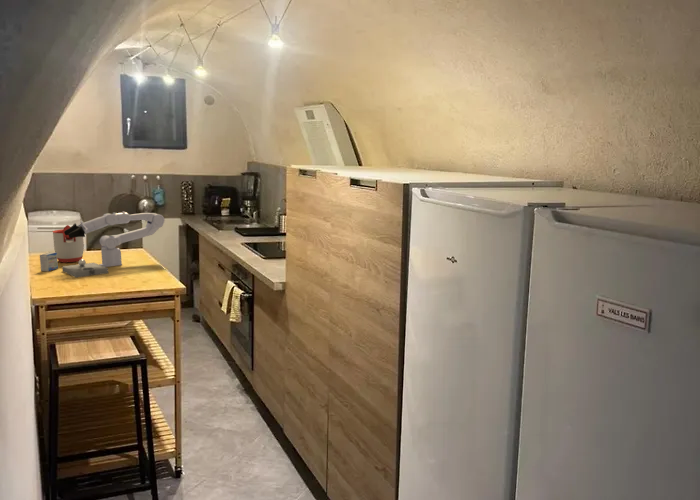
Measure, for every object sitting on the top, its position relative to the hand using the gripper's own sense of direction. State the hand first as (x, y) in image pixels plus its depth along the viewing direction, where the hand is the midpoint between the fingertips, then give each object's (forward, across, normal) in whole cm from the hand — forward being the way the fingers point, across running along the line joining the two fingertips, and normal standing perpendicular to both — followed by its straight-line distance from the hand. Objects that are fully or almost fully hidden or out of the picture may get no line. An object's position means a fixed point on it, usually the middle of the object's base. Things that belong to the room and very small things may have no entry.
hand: (66, 234), depth 334 cm
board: (0, +12, +18) cm, 22 cm away
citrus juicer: (-1, -24, +21) cm, 32 cm away
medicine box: (+13, -5, +16) cm, 21 cm away
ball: (-1, +8, +14) cm, 16 cm away
